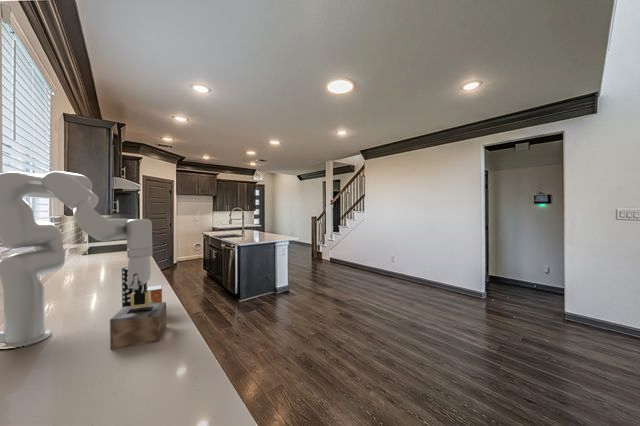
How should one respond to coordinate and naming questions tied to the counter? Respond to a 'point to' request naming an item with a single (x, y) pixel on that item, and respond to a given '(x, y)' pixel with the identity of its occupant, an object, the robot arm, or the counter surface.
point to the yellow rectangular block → (147, 299)
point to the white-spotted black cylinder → (126, 289)
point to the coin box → (137, 325)
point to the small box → (156, 294)
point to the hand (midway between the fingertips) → (141, 302)
